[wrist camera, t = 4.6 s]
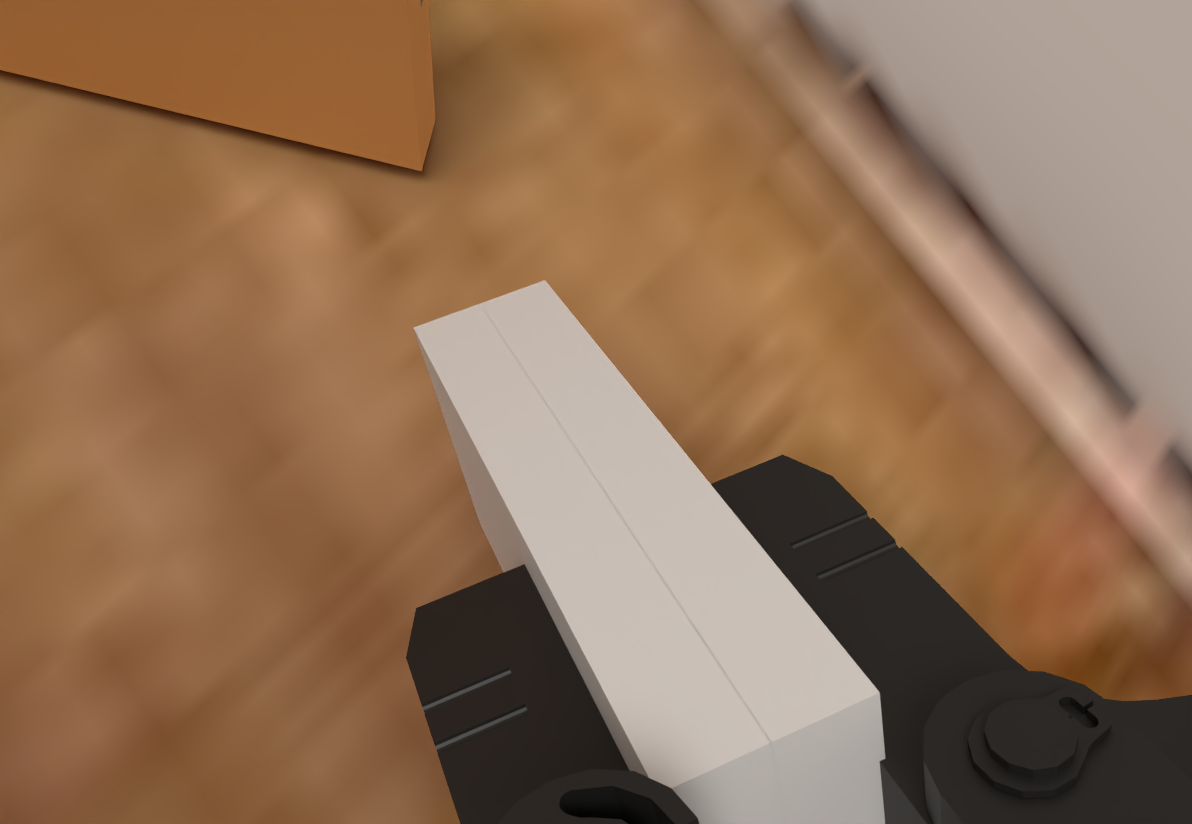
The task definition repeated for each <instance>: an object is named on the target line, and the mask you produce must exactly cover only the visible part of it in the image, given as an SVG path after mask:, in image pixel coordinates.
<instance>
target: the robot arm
mask: <svg viewBox="0 0 1192 824" xmlns="http://www.w3.org/2000/svg"><path fill="white" fill-rule="evenodd" d="M414 331H415V334H416V337H417V340H418V343H419V346H420V349H421V352H422V355H423V358H424V361H425V364H426V366H427V369H428V372H429V375H430V378H431V381H432V384H433V387H434V390H435V393H436V396H437V399H438V402H439V405H440V408H441V411H442V414H443V416H444V419H445V422H446V425H447V428H448V431H449V434H450V437H451V440H452V443H453V446H454V449H455V452H456V455H457V458H458V461H459V464H460V466H461V469H462V472H463V475H464V478H465V481H466V484H467V487H468V490H469V493H470V496H471V499H472V502H473V505H474V508H475V511H476V514H477V517H478V519H479V522H480V524H481V526H482V529H483V531H484V533H485V535H486V537H487V539H488V541H489V543H490V545H491V547H492V549H493V552H494V554H495V556H496V558H497V560H498V562H499V564H500V566H501V568H502V570H503V573H501V574H499V575H497V576H494V577H492V578H489V579H487V580H484V581H482V582H479V583H477V584H475V585H472V586H470V587H467V588H465V589H462V590H460V591H457V592H455V593H452V594H450V595H448V596H445V597H443V598H440V599H438V600H435V601H433V602H430V603H428V604H426V605H423V606H421V607H418V608H416V612H415V617H414V622H413V627H412V632H411V637H410V641H409V646H408V651H407V656H406V659H407V662H408V665H409V668H410V671H411V674H412V677H413V680H414V683H415V686H416V689H417V692H418V695H419V698H420V701H421V704H422V707H423V709H424V712H425V717H426V720H427V723H428V726H429V729H430V732H431V735H432V738H433V741H434V744H435V746H436V749H437V752H438V756H439V759H440V762H441V765H442V768H443V771H444V774H445V778H446V781H447V784H448V787H449V790H450V793H451V796H452V799H453V802H454V805H455V808H456V811H457V814H458V817H459V820H460V823H461V824H1192V695H1188V696H1181V697H1173V698H1166V699H1159V700H1144V701H1116V700H1108V699H1104V698H1102V697H1101V696H1099V695H1098V694H1096V693H1095V692H1093V691H1092V690H1091V689H1089V688H1088V687H1086V686H1085V685H1083V684H1080V683H1077V682H1074V681H1071V680H1068V679H1065V678H1061V677H1058V676H1055V675H1052V674H1049V673H1046V672H1038V671H1028V670H1026V669H1025V668H1024V667H1023V666H1021V665H1020V664H1019V663H1018V662H1016V661H1015V660H1014V659H1013V658H1011V657H1010V656H1009V655H1008V654H1007V653H1006V652H1005V651H1004V650H1003V649H1002V648H1001V647H1000V646H999V645H998V644H997V643H996V642H995V641H994V640H993V639H992V638H991V637H990V636H989V635H988V634H987V633H986V632H985V631H984V630H983V629H982V628H981V627H980V626H979V625H978V624H977V623H976V622H975V621H974V619H973V618H972V617H971V616H970V615H969V614H968V613H967V612H966V611H965V610H964V609H963V608H962V607H961V606H960V605H959V604H958V603H957V602H956V601H955V600H954V599H953V598H952V597H951V596H950V595H949V594H948V593H947V592H946V591H945V590H944V589H943V588H942V587H941V586H940V585H939V584H938V583H937V582H936V581H935V580H934V579H933V578H932V577H931V576H930V575H929V574H928V573H927V572H926V571H925V570H924V569H923V568H922V567H921V566H920V565H919V564H918V563H917V562H916V561H915V560H914V559H913V558H912V557H911V556H910V555H909V554H908V553H907V552H906V551H905V550H904V548H903V547H901V548H898V546H897V545H896V543H895V539H894V538H893V537H892V536H891V535H890V534H889V533H888V532H887V531H886V530H885V529H884V528H883V527H882V526H881V525H880V524H879V523H878V522H877V521H876V520H875V519H874V518H872V519H870V518H869V517H868V515H867V511H866V510H865V509H864V508H863V507H862V506H861V505H860V504H859V503H858V502H857V501H856V500H855V499H854V498H853V497H852V496H851V495H850V494H849V493H848V492H847V491H846V490H845V489H844V488H843V487H842V486H841V485H840V484H839V483H838V482H837V481H836V480H835V478H834V477H833V476H830V475H828V474H826V473H824V472H821V471H819V470H817V469H814V468H812V467H810V466H807V465H805V464H803V463H801V462H798V461H796V460H794V459H791V458H789V457H787V456H784V455H781V456H779V457H776V458H774V459H771V460H769V461H766V462H764V463H761V464H759V465H756V466H754V467H752V468H749V469H747V470H744V471H742V472H739V473H737V474H734V475H732V476H729V477H727V478H725V479H722V480H720V481H717V482H715V483H712V484H710V483H709V482H708V480H707V479H706V478H705V477H704V476H703V474H702V473H701V472H700V471H699V469H698V468H697V467H696V466H695V464H694V463H693V462H692V461H691V460H690V458H689V457H688V456H687V455H686V453H685V452H684V451H683V450H682V448H681V447H680V446H679V445H678V444H677V442H676V441H675V440H674V439H673V437H672V436H671V435H670V434H669V432H668V431H667V430H666V429H665V428H664V426H663V425H662V424H661V423H660V421H659V420H658V419H657V418H656V416H655V415H654V414H653V413H652V412H651V410H650V409H649V408H648V407H647V405H646V404H645V403H644V402H643V400H642V399H641V398H640V397H639V395H638V394H637V393H636V392H635V391H634V389H633V388H632V387H631V386H630V384H629V383H628V382H627V381H626V379H625V378H624V377H623V376H622V375H621V373H620V372H619V371H618V370H617V368H616V367H615V366H614V365H613V363H612V362H611V361H610V360H609V359H608V357H607V356H606V355H605V354H604V352H603V351H602V350H601V349H600V347H599V346H598V345H597V344H596V343H595V341H594V340H593V339H592V338H591V336H590V335H589V334H588V333H587V331H586V330H585V329H584V328H583V327H582V325H581V324H580V323H579V322H578V320H577V319H576V318H575V317H574V315H573V314H572V313H571V312H570V311H569V309H568V308H567V307H566V306H565V304H564V303H563V302H562V301H561V299H560V298H559V297H558V296H557V295H556V293H555V292H554V291H553V290H552V288H551V287H550V286H549V285H548V283H547V282H546V281H545V280H544V281H541V282H539V283H536V284H533V285H530V286H528V287H525V288H522V289H519V290H517V291H514V292H511V293H508V294H505V295H503V296H500V297H497V298H494V299H492V300H489V301H486V302H483V303H480V304H478V305H475V306H472V307H469V308H467V309H464V310H461V311H458V312H455V313H453V314H450V315H447V316H444V317H442V318H439V319H436V320H433V321H430V322H428V323H425V324H422V325H419V326H417V327H414Z"/></svg>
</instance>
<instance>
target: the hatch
mask: <svg viewBox="0 0 1192 824" xmlns="http://www.w3.org/2000/svg"><path fill="white" fill-rule="evenodd" d="M0 70H3V71H7V72H11V73H15V74H19V75H24V76H28V77H32V78H36V79H40V80H44V81H49V82H53V83H57V84H61V85H65V86H69V87H73V88H78V89H82V90H86V91H90V92H94V93H98V94H103V95H107V96H111V97H115V98H119V99H123V100H127V101H132V102H136V103H140V104H144V105H148V106H152V107H157V108H161V109H165V110H169V111H173V112H177V113H181V114H186V115H190V116H194V117H198V118H202V119H206V120H210V121H215V122H219V123H223V124H227V125H231V126H235V127H240V128H244V129H248V130H252V131H256V132H260V133H264V134H269V135H273V136H277V137H281V138H285V139H289V140H294V141H298V142H302V143H306V144H310V145H314V146H318V147H323V148H327V149H331V150H335V151H339V152H343V153H348V154H352V155H356V156H360V157H364V158H368V159H372V160H377V161H381V162H385V163H389V164H393V165H397V166H402V167H406V168H410V169H414V170H418V171H422V168H423V164H424V161H425V157H426V153H427V149H428V146H429V142H430V138H431V135H432V131H433V127H434V124H435V102H434V84H433V67H432V49H431V31H430V13H429V0H0Z"/></svg>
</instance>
